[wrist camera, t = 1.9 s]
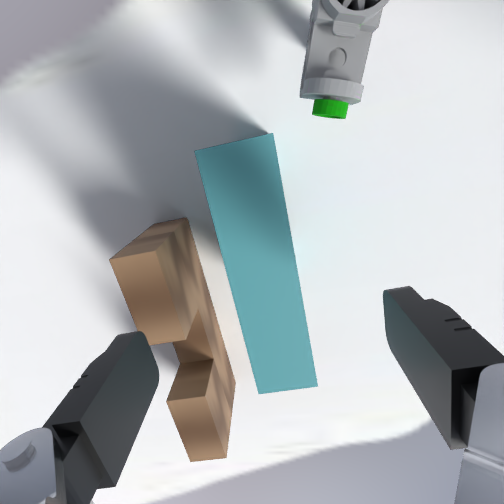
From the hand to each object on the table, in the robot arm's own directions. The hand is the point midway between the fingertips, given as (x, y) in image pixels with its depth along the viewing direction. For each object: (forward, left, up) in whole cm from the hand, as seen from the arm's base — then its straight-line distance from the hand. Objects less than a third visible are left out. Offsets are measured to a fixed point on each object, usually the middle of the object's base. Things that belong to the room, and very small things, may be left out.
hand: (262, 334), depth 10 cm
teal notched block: (0, 0, -16) cm, 16 cm away
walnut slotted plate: (+8, +8, -16) cm, 20 cm away
